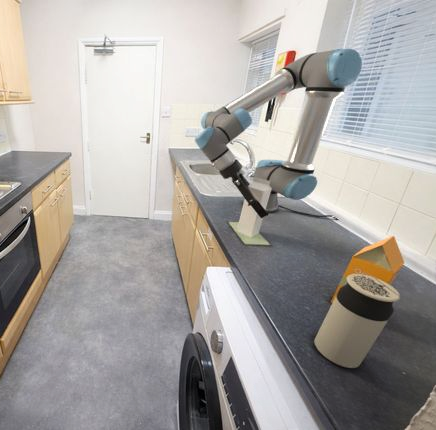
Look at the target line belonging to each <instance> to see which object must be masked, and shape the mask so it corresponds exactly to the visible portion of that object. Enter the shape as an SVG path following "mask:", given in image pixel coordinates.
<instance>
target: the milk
mask: <svg viewBox="0 0 436 430" xmlns="http://www.w3.org/2000/svg"><path fill="white" fill-rule="evenodd" d="M253 177H254V176H253ZM249 184H250V185H249V186H248V188H249V190H250V191H251V193H252V194H253V196H254V197H255V199H257V200H258V201H259V203H260V204H261V205H262V207H263V208H264V209H265V210H266V206H267V203H268V199H269V196H270V193H271V189H272V188H271V187H270V181H268V180H264V179H260V178H256V177H254V179H253V178H252V181H251V182H250V183H249ZM243 201H244V204H243V203H242V208H241V212H240V216H239V220H238V222H239V224H238V228H237V232H239V233H242V234H244V235H246V236H249V237H252V236H254V235H256V234H258V233H260V229H261V227H262V224H263V219H264V217H263V218H260V216H259V215H258V214H257V213H256V211H255V210H254V209H253V208H252V206H251V205H250V206H248V202H247V201H246V199H245V200H244V199H243ZM251 201H252V200H251Z"/></svg>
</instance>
